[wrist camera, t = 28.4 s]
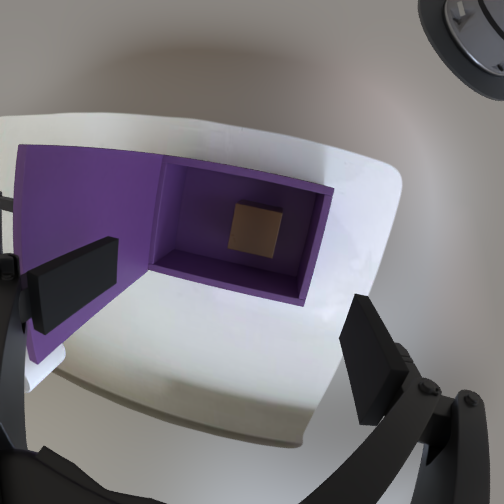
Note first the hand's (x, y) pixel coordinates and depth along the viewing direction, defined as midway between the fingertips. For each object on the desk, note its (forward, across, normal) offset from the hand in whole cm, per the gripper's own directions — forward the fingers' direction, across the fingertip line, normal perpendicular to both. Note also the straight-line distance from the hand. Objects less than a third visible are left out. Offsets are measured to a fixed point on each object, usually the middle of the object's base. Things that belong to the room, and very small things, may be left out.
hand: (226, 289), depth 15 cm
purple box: (+23, -2, 0) cm, 23 cm away
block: (+22, 0, 0) cm, 22 cm away
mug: (+22, -38, -32) cm, 54 cm away
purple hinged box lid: (+5, -10, 0) cm, 12 cm away
